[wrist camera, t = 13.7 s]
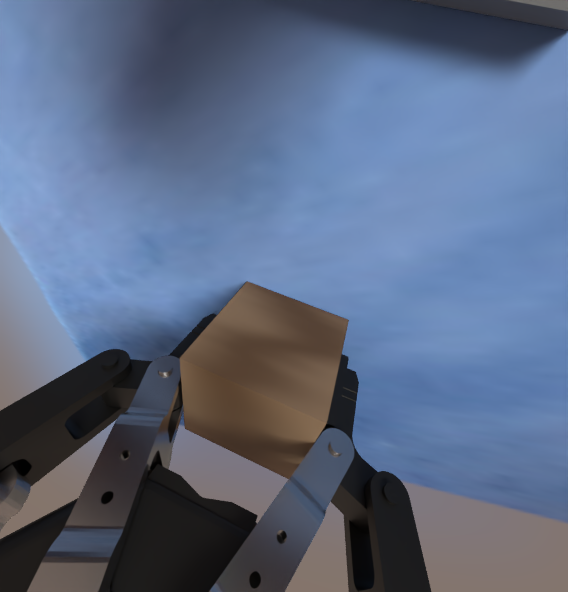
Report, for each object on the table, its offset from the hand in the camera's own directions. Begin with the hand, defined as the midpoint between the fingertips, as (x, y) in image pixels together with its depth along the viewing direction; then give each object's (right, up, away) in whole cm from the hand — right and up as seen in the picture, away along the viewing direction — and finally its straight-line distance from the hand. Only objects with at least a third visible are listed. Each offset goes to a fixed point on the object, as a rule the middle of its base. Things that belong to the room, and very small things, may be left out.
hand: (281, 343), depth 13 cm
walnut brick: (0, 0, 0) cm, 0 cm away
